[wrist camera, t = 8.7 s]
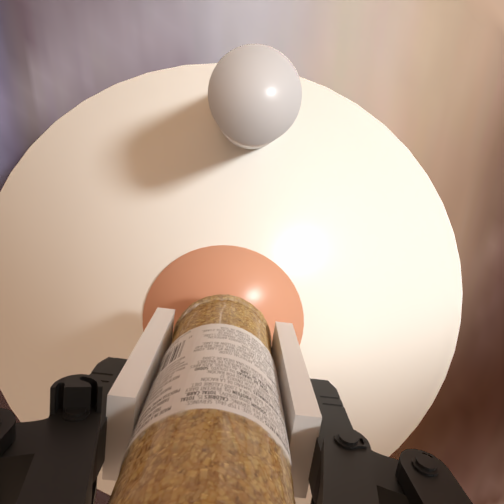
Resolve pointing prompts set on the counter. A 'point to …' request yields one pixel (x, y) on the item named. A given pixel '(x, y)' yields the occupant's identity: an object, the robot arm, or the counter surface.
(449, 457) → the counter surface
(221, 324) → the sprinkles bottle
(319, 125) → the disc
